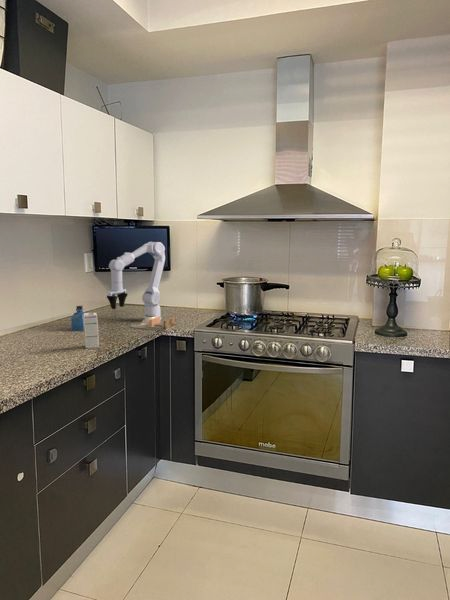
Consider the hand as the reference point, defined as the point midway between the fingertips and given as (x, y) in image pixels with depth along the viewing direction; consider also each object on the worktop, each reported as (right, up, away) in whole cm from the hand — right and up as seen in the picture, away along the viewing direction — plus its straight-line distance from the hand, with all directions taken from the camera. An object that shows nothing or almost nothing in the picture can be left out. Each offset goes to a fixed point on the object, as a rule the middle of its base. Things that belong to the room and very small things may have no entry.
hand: (117, 307), depth 241 cm
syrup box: (-1, -16, -44) cm, 47 cm away
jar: (+18, -10, -2) cm, 20 cm away
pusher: (+22, -10, -4) cm, 24 cm away
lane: (+20, -10, -3) cm, 22 cm away
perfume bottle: (-17, -11, -9) cm, 22 cm away
